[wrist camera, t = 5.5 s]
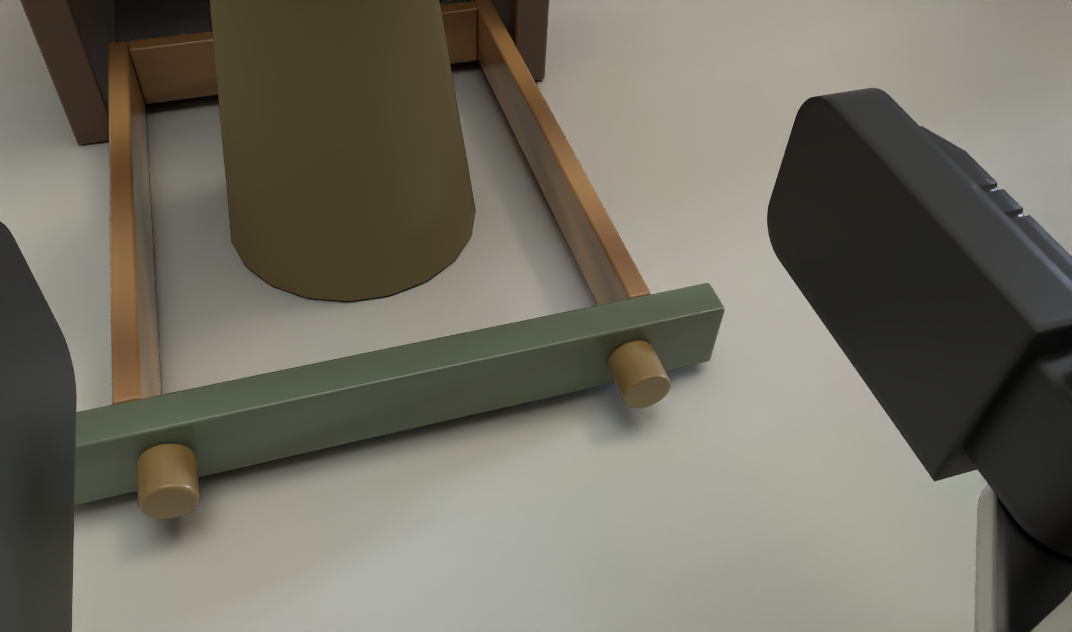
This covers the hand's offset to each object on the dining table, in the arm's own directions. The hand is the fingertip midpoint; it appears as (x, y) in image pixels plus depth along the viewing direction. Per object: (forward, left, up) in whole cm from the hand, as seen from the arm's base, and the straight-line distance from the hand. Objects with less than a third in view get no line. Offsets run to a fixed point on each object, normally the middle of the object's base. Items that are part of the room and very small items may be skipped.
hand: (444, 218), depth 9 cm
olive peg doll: (-6, -9, -9) cm, 14 cm away
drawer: (-5, -8, -9) cm, 13 cm away
